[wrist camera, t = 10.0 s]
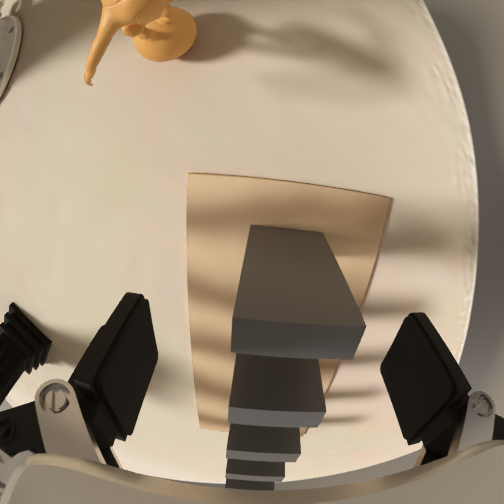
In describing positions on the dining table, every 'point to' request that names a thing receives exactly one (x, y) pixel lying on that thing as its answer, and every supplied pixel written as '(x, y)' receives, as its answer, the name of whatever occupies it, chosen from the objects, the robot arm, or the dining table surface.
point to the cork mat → (232, 255)
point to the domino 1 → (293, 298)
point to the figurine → (143, 30)
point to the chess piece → (19, 348)
